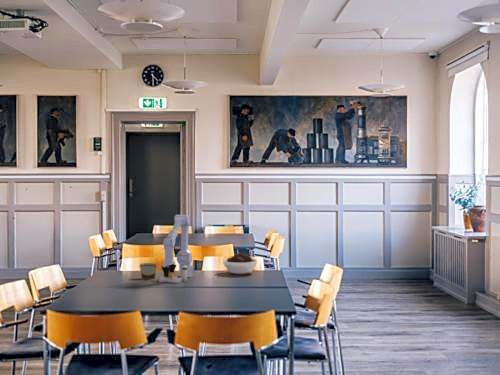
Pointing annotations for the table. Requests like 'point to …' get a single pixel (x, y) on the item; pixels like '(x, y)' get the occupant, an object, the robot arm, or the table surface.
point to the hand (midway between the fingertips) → (169, 276)
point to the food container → (148, 270)
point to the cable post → (184, 273)
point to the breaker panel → (171, 279)
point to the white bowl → (240, 264)
